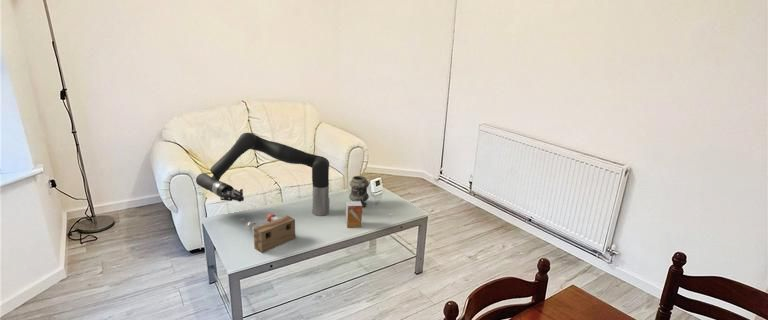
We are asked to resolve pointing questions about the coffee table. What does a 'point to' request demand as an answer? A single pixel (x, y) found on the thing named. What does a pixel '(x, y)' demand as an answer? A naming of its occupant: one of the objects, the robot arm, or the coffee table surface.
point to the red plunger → (272, 218)
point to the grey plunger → (251, 226)
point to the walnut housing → (274, 234)
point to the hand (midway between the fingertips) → (241, 199)
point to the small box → (353, 214)
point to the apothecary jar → (359, 189)
